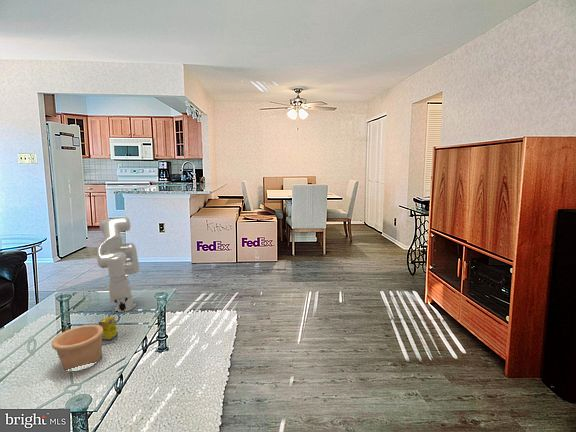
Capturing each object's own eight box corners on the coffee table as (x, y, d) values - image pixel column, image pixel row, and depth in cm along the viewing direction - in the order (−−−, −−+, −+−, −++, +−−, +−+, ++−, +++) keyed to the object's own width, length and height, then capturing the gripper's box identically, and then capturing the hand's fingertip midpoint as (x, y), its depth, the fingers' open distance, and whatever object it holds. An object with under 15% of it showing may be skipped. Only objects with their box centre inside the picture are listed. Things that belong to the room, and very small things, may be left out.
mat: (78, 340, 198) (78, 340, 198) (118, 332, 205) (118, 331, 205) (74, 351, 187) (74, 351, 187) (116, 342, 194) (116, 341, 194)
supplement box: (111, 340, 195) (107, 322, 193) (101, 340, 196) (97, 321, 194) (118, 335, 201) (114, 316, 199) (108, 334, 202) (105, 316, 200)
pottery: (96, 345, 193) (91, 320, 190) (115, 358, 179) (110, 331, 176) (50, 365, 176) (44, 338, 174) (67, 381, 162) (61, 352, 160)
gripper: (132, 273, 201) (137, 304, 204) (103, 279, 196) (108, 310, 199) (132, 277, 194) (137, 309, 197) (101, 283, 189) (107, 315, 192)
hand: (122, 310), depth 198 cm, fingers closed
